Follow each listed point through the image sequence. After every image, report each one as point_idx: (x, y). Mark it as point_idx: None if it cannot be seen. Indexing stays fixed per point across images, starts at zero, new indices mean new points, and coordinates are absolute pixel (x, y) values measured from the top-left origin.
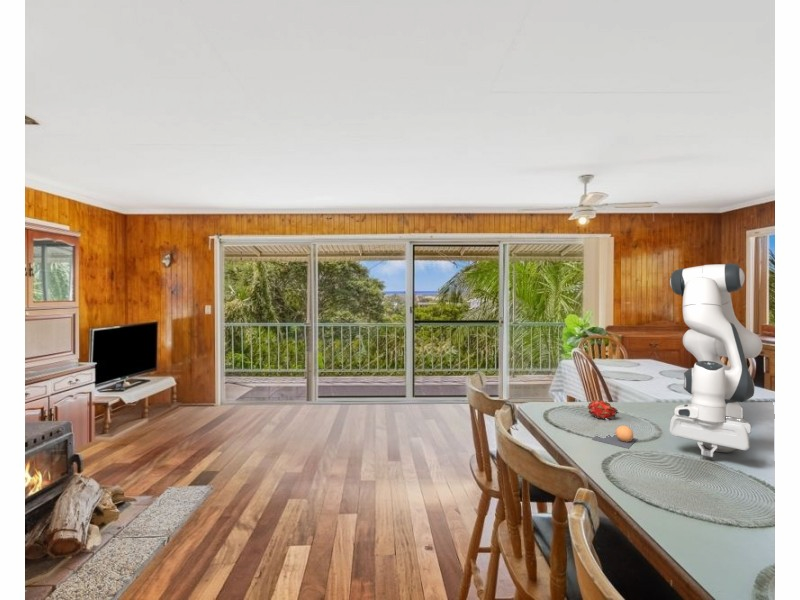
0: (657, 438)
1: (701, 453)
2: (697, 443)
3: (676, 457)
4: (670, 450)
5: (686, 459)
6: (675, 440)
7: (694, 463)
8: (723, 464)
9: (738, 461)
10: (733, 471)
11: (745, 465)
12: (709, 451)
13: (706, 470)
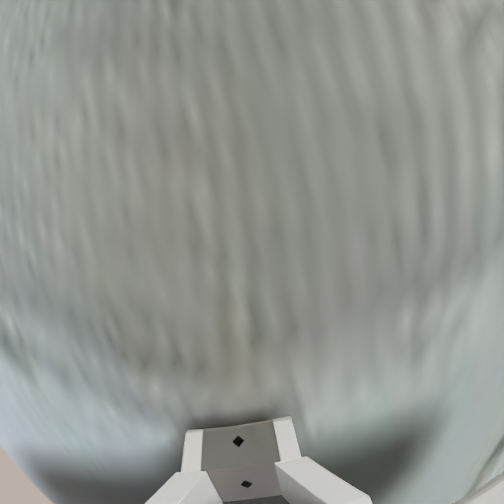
0: (497, 445)
1: (290, 422)
2: (367, 500)
3: (450, 252)
4: (478, 363)
5: (384, 279)
6: (432, 493)
7: (303, 229)
8: (128, 414)
9: (120, 496)
10: (23, 317)
11: (69, 467)
12: (214, 470)
13: (151, 117)
